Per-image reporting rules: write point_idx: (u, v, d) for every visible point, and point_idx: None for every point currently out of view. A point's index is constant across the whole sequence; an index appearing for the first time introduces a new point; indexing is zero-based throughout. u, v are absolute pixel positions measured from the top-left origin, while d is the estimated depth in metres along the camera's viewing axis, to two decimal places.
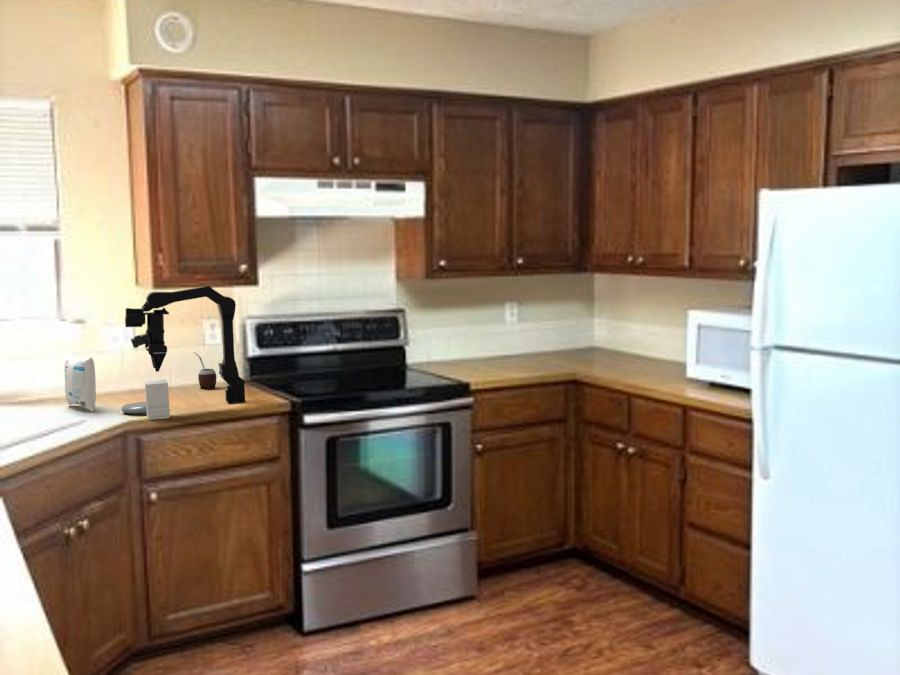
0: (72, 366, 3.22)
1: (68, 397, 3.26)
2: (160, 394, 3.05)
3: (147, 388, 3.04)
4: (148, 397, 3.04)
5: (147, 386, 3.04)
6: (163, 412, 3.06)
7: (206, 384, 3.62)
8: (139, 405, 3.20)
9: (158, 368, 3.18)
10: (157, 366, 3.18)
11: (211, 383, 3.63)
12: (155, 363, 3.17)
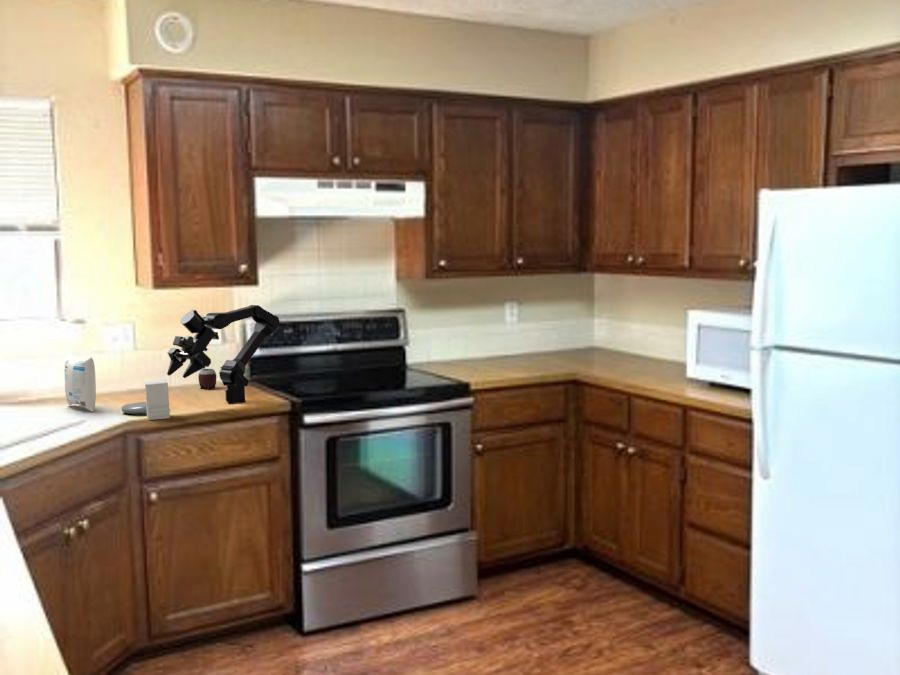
0: (72, 366, 3.22)
1: (68, 397, 3.26)
2: (160, 394, 3.05)
3: (147, 388, 3.04)
4: (148, 397, 3.04)
5: (147, 386, 3.04)
6: (163, 412, 3.06)
7: (206, 384, 3.62)
8: (139, 405, 3.20)
9: (187, 375, 3.12)
10: (188, 373, 3.12)
11: (211, 383, 3.63)
12: (189, 369, 3.11)
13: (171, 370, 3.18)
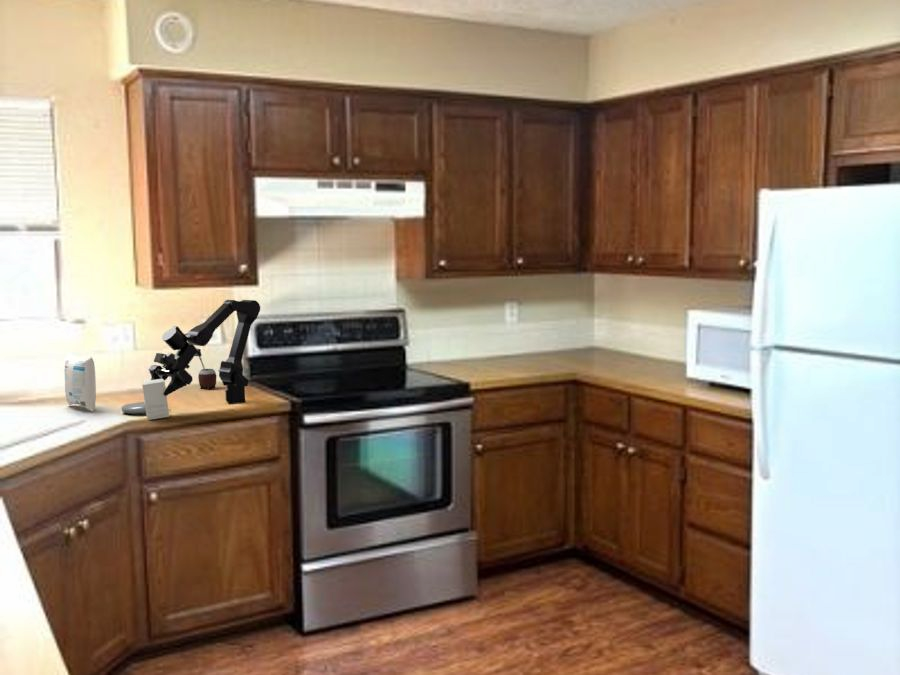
0: (72, 366, 3.22)
1: (68, 397, 3.26)
2: (158, 393, 3.05)
3: (144, 388, 3.03)
4: (146, 397, 3.04)
5: (144, 386, 3.03)
6: (162, 411, 3.06)
7: (206, 384, 3.62)
8: (139, 405, 3.20)
9: (167, 393, 3.06)
10: (169, 390, 3.06)
11: (211, 383, 3.63)
12: (170, 387, 3.06)
13: None
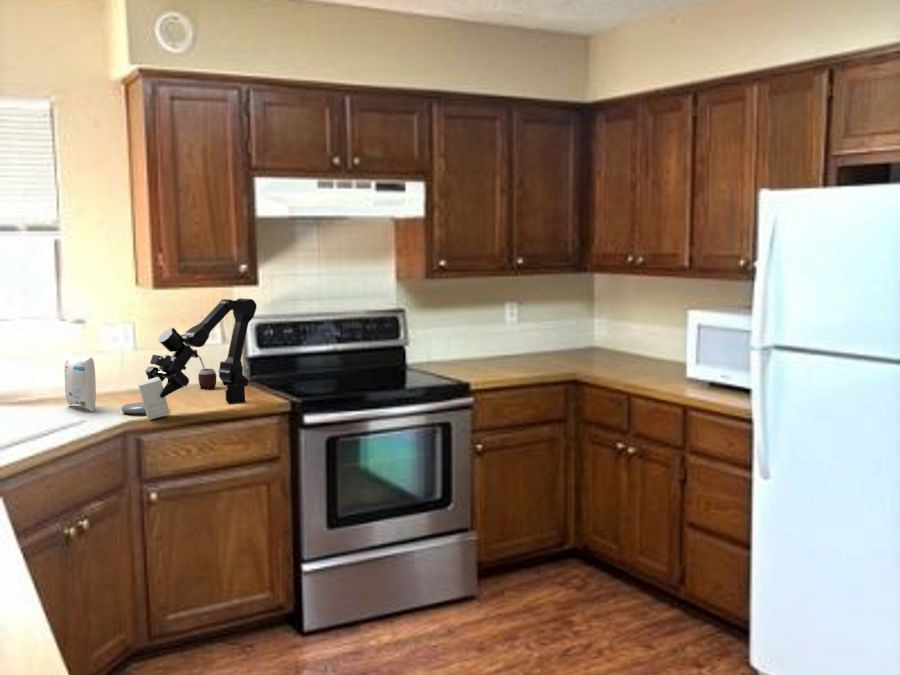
0: (72, 366, 3.22)
1: (68, 397, 3.26)
2: (156, 392, 3.05)
3: (141, 389, 3.03)
4: (144, 397, 3.03)
5: (141, 387, 3.02)
6: (162, 409, 3.06)
7: (206, 384, 3.62)
8: (139, 405, 3.20)
9: (164, 395, 3.05)
10: (165, 392, 3.05)
11: (211, 383, 3.63)
12: (166, 389, 3.05)
13: None
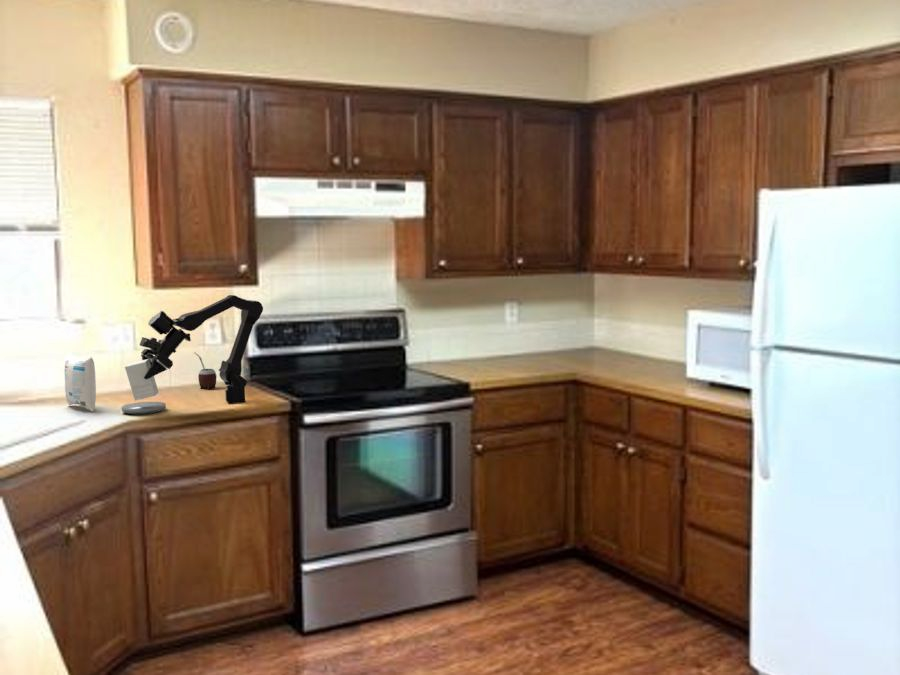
0: (72, 366, 3.22)
1: (68, 397, 3.26)
2: (141, 373, 3.11)
3: (127, 370, 3.10)
4: (130, 378, 3.10)
5: (126, 368, 3.10)
6: (147, 391, 3.12)
7: (206, 384, 3.62)
8: (139, 405, 3.20)
9: (148, 377, 3.11)
10: (149, 374, 3.10)
11: (211, 383, 3.63)
12: (150, 371, 3.10)
13: None
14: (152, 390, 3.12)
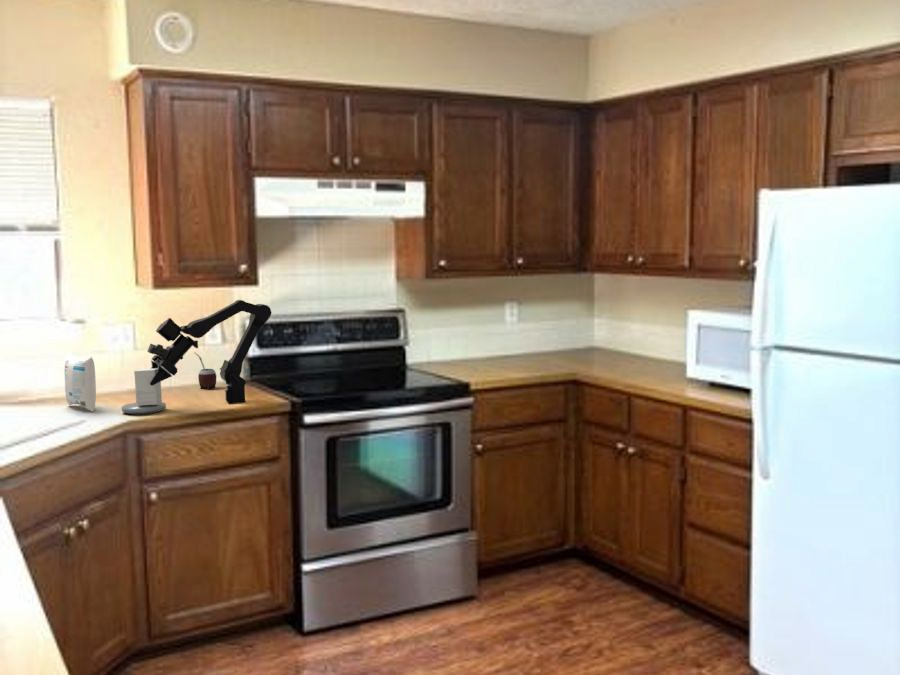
0: (72, 366, 3.22)
1: (68, 397, 3.26)
2: (148, 380, 3.16)
3: (135, 374, 3.16)
4: (136, 383, 3.16)
5: (135, 372, 3.16)
6: (150, 398, 3.16)
7: (206, 384, 3.62)
8: None
9: (154, 383, 3.16)
10: (154, 380, 3.15)
11: (211, 383, 3.63)
12: (155, 377, 3.15)
13: None
14: (155, 399, 3.17)
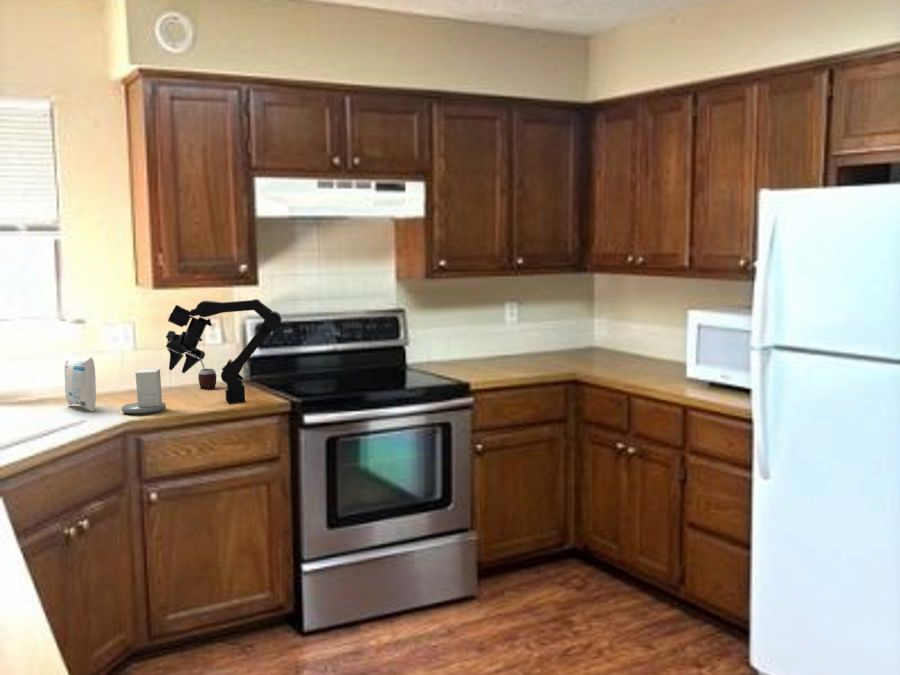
0: (72, 366, 3.22)
1: (68, 397, 3.26)
2: (149, 382, 3.16)
3: (137, 376, 3.15)
4: (138, 385, 3.15)
5: (137, 374, 3.15)
6: (151, 400, 3.17)
7: (206, 384, 3.62)
8: None
9: (171, 367, 3.24)
10: (171, 364, 3.24)
11: (211, 383, 3.63)
12: (170, 361, 3.24)
13: (184, 368, 3.34)
14: (157, 400, 3.17)
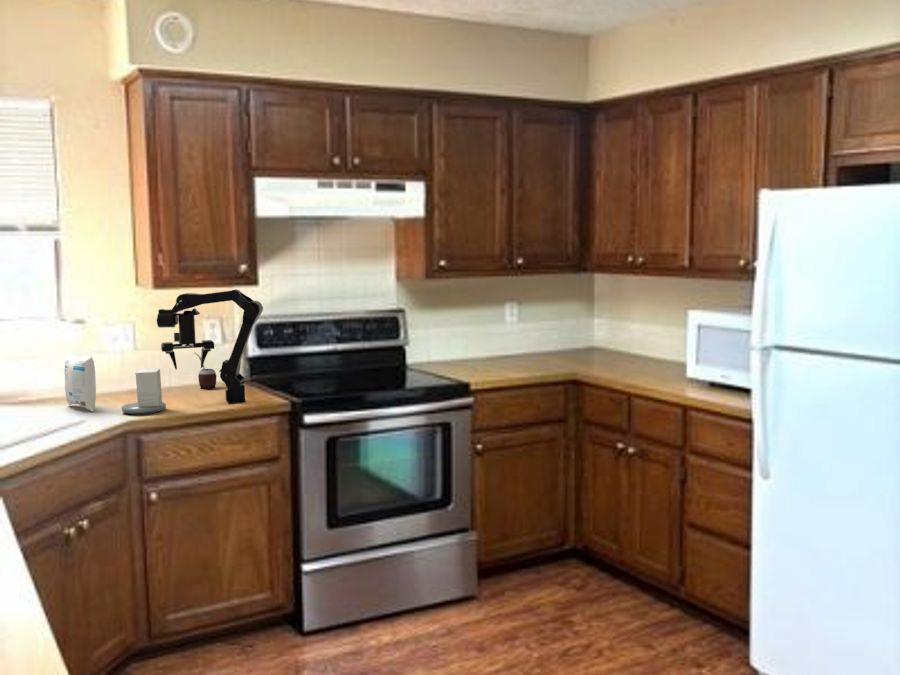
0: (72, 366, 3.22)
1: (68, 397, 3.26)
2: (149, 382, 3.16)
3: (137, 376, 3.15)
4: (138, 385, 3.15)
5: (137, 374, 3.15)
6: (151, 400, 3.17)
7: (206, 384, 3.62)
8: None
9: (174, 366, 3.31)
10: None
11: (211, 383, 3.63)
12: None
13: None
14: (157, 400, 3.17)
